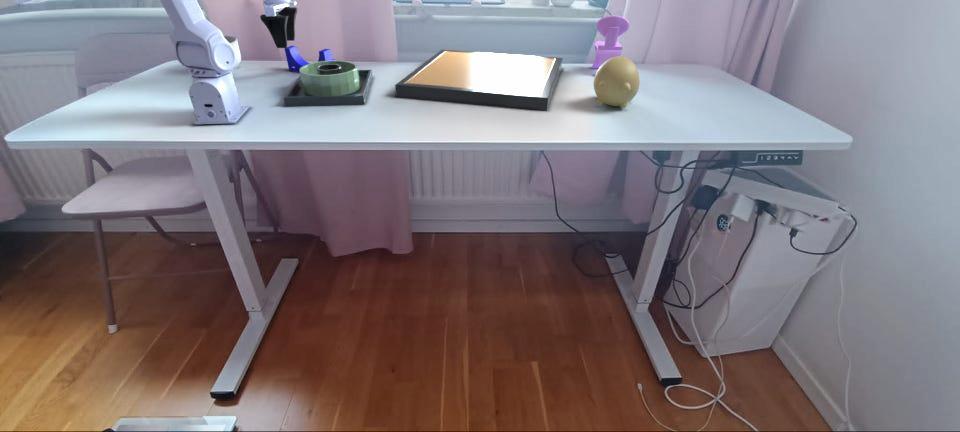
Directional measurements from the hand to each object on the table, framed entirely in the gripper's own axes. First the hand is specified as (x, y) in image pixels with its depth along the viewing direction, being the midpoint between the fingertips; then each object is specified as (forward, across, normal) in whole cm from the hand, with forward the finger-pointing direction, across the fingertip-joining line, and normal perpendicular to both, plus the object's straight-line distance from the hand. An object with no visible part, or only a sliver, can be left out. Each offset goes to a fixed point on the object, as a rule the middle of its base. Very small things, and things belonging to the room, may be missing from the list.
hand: (286, 44), depth 109 cm
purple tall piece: (+10, +6, -82) cm, 83 cm away
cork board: (+10, 0, -48) cm, 49 cm away
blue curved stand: (+10, +13, -2) cm, 17 cm away
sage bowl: (+10, -5, -10) cm, 15 cm away
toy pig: (+10, -20, -75) cm, 78 cm away
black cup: (+9, -5, -10) cm, 15 cm away
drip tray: (+10, -5, -10) cm, 15 cm away
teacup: (+10, +16, +24) cm, 31 cm away
